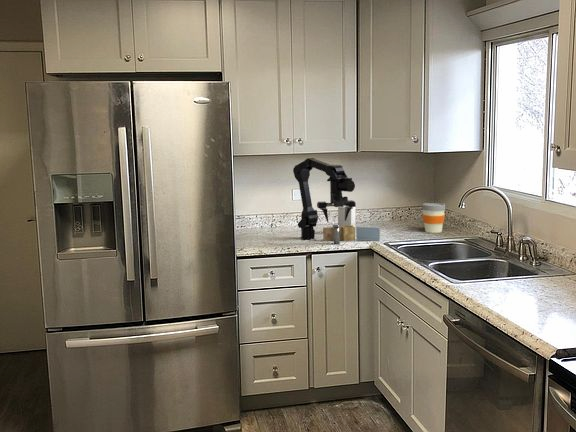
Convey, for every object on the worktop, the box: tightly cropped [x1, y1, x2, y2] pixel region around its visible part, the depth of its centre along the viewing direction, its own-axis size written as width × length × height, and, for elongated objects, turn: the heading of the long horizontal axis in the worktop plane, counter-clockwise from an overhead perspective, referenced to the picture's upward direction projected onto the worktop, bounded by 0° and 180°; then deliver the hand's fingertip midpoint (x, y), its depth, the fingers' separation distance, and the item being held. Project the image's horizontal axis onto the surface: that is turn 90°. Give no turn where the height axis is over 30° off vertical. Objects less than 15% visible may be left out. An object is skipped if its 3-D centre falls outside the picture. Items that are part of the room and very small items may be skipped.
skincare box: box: [337, 206, 357, 228], centre depth 339 cm, size 8×7×16 cm
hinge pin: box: [332, 224, 341, 245], centre depth 313 cm, size 4×4×10 cm
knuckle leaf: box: [322, 225, 356, 242], centre depth 322 cm, size 16×6×7 cm, turn 98°
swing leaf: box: [355, 226, 381, 241], centre depth 320 cm, size 12×1×7 cm, turn 73°
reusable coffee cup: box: [421, 202, 446, 234], centre depth 341 cm, size 13×13×15 cm
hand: (336, 221), depth 312 cm, fingers open, 9 cm apart
